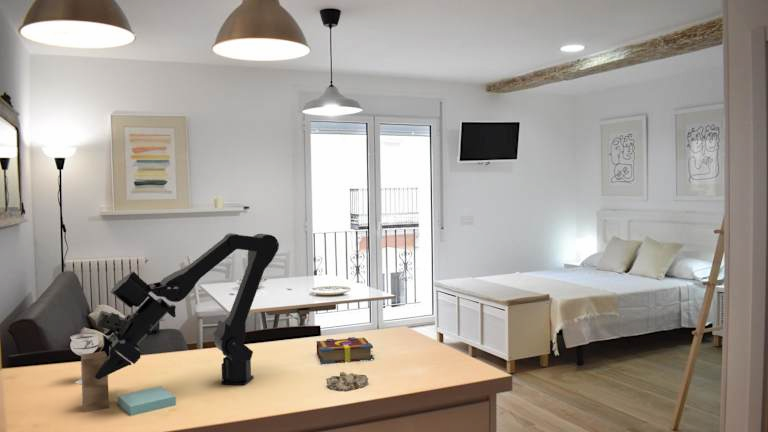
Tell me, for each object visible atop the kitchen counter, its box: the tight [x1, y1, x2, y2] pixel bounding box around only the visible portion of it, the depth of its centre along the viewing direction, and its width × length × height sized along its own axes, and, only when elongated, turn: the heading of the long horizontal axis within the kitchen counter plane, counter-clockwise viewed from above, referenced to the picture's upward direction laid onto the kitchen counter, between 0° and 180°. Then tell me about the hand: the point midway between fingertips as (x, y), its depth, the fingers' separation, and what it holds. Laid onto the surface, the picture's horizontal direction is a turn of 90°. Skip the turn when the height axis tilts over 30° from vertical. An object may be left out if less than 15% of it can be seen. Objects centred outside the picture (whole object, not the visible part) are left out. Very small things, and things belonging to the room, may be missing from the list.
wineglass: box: [69, 332, 100, 385], centre depth 158 cm, size 7×7×12 cm
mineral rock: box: [325, 371, 369, 392], centre depth 151 cm, size 11×4×8 cm
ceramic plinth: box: [117, 385, 177, 417], centre depth 140 cm, size 10×10×2 cm
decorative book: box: [316, 336, 374, 365], centre depth 177 cm, size 11×16×5 cm
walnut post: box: [80, 351, 110, 413], centre depth 139 cm, size 5×5×12 cm
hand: (94, 373), depth 138 cm, fingers open, 9 cm apart
